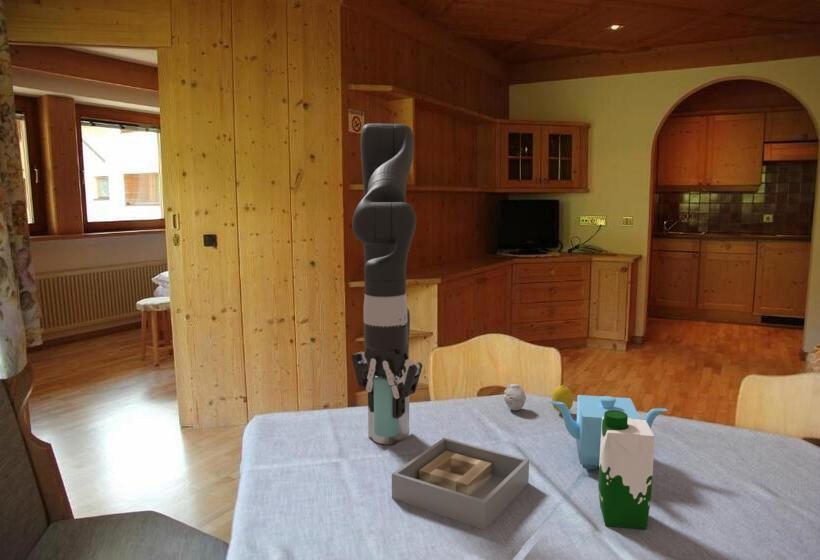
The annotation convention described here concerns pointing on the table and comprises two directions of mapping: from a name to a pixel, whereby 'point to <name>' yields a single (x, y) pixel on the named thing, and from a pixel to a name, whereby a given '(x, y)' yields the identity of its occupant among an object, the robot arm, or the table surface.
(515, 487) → the open box
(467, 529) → the table surface
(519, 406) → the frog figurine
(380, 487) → the table surface
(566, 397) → the lemon
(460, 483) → the bore block
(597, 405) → the teakettle
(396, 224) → the robot arm
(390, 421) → the peg
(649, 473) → the milk carton
